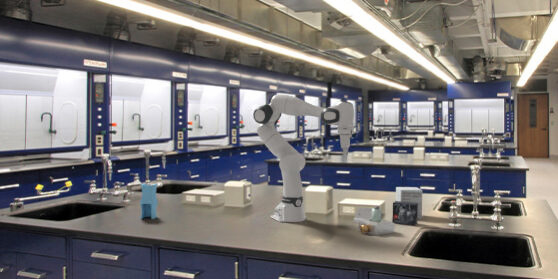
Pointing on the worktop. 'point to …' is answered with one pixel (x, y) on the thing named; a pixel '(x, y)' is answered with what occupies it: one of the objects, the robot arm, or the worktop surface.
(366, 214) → the hinge
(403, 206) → the small box
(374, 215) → the pump canister
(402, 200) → the supplement box
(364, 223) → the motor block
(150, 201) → the blue tower block
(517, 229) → the worktop surface
